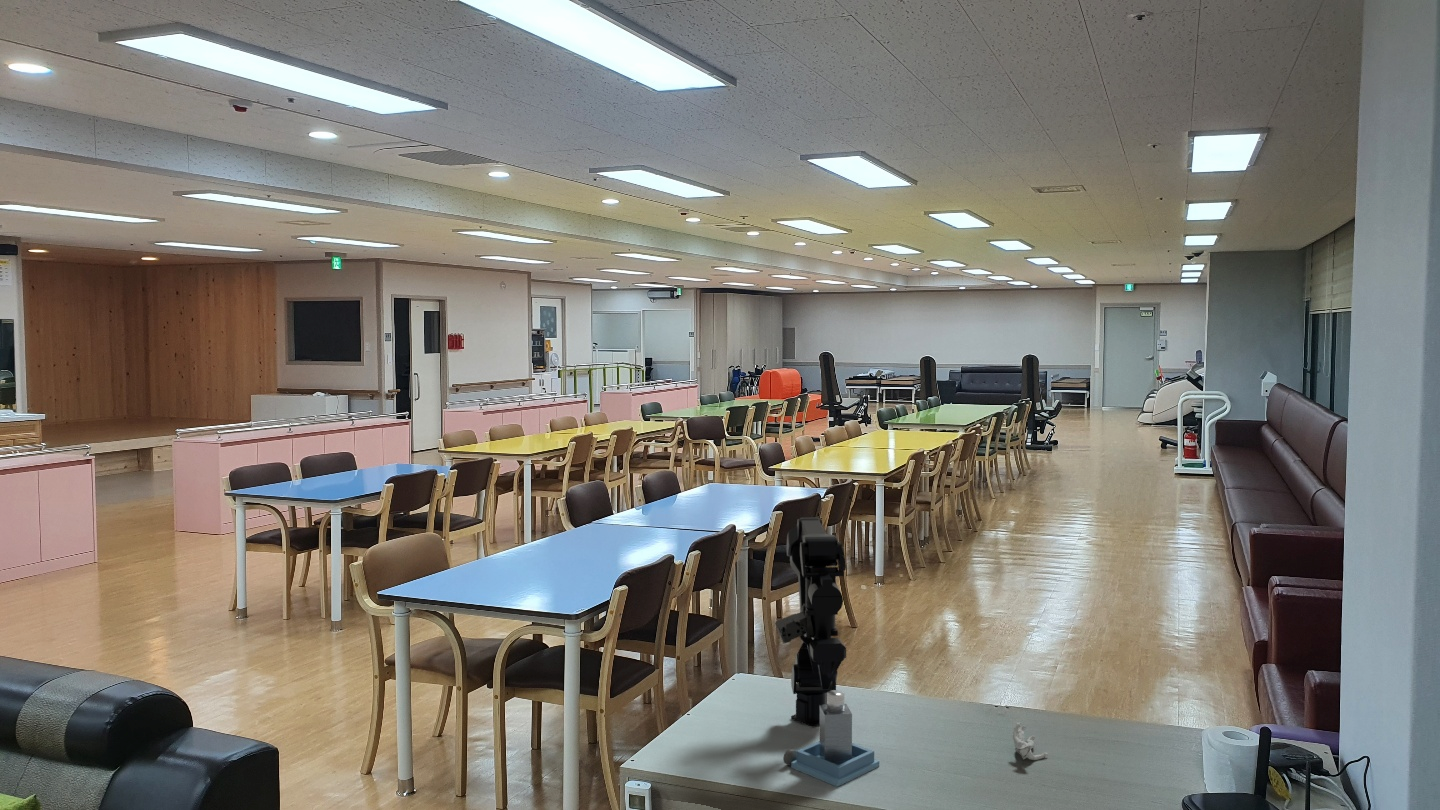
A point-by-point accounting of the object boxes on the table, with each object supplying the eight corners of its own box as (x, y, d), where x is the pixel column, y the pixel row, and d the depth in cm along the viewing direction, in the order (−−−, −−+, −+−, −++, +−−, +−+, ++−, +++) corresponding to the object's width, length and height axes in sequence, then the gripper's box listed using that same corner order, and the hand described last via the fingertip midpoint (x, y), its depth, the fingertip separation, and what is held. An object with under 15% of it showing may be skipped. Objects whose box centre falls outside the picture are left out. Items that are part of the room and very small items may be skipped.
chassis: (830, 745, 202) (830, 730, 201) (881, 765, 193) (881, 749, 192) (783, 766, 192) (783, 750, 192) (834, 787, 184) (834, 771, 183)
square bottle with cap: (819, 756, 194) (819, 688, 193) (845, 755, 195) (846, 687, 193) (824, 768, 189) (824, 698, 188) (851, 767, 190) (852, 697, 188)
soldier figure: (1046, 749, 202) (1055, 754, 190) (1028, 766, 202) (1035, 772, 190) (1017, 717, 204) (1023, 721, 192) (999, 734, 204) (1004, 738, 192)
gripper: (771, 589, 207) (771, 666, 209) (786, 616, 189) (786, 700, 190) (826, 588, 208) (826, 664, 210) (847, 614, 190) (846, 697, 191)
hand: (820, 680), depth 200 cm, fingers open, 9 cm apart
